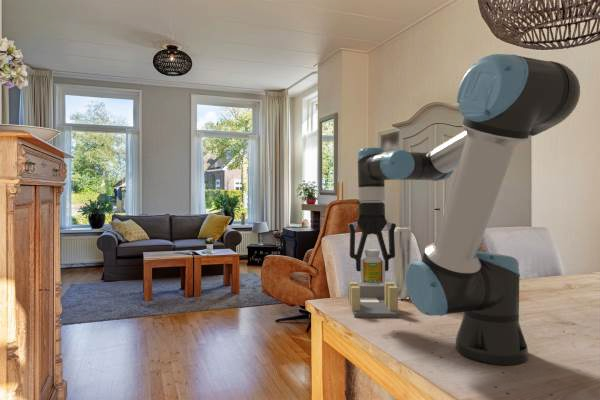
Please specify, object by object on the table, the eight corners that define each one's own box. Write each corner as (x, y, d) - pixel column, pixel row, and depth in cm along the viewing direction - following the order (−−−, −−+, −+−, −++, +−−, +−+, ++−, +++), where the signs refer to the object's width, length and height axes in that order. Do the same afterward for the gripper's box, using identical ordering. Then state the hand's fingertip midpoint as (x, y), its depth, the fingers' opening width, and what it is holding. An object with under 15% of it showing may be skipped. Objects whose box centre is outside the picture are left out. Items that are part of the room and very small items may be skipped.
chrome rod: (409, 295, 149) (409, 226, 149) (412, 300, 143) (412, 228, 142) (391, 295, 150) (391, 226, 150) (393, 299, 143) (393, 228, 143)
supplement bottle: (367, 286, 115) (367, 251, 115) (359, 282, 120) (359, 249, 120) (385, 284, 116) (384, 250, 116) (376, 281, 122) (376, 248, 122)
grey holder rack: (399, 317, 122) (399, 290, 122) (352, 317, 123) (352, 289, 123) (387, 300, 142) (387, 276, 142) (346, 300, 143) (346, 276, 143)
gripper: (400, 201, 122) (401, 279, 122) (338, 202, 122) (339, 280, 122) (406, 201, 114) (407, 285, 114) (340, 202, 115) (341, 285, 115)
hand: (372, 282), depth 118 cm, fingers closed on supplement bottle, 5 cm apart
